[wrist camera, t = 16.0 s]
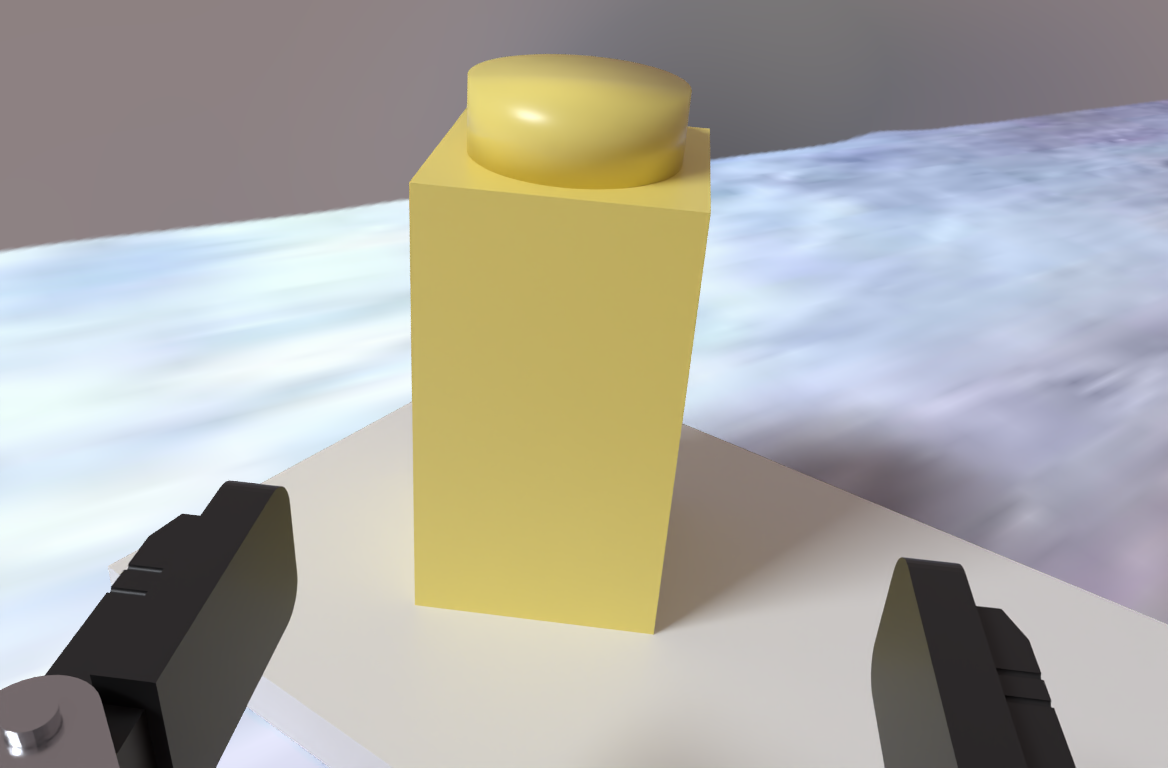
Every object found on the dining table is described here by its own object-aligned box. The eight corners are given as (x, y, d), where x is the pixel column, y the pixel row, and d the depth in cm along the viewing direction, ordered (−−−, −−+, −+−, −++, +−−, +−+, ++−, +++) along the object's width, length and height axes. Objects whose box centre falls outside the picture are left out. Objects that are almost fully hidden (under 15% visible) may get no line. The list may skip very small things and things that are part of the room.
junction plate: (505, 386, 39) (511, 193, 35) (1298, 731, 27) (1436, 490, 23) (116, 610, 28) (66, 359, 24) (1200, 1407, 15) (1449, 1139, 11)
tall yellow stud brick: (462, 471, 32) (469, 38, 25) (662, 494, 31) (718, 62, 25) (415, 604, 26) (407, 101, 20) (653, 634, 26) (721, 132, 20)
